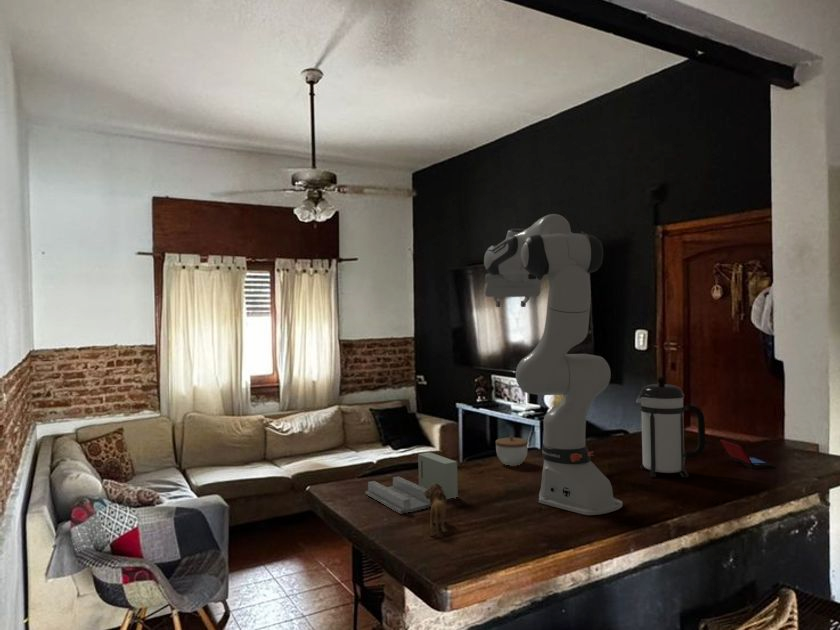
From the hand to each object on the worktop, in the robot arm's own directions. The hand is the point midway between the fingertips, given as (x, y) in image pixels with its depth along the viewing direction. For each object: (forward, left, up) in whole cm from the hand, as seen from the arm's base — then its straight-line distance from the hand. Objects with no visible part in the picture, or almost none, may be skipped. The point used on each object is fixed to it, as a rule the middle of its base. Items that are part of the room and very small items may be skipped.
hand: (510, 306), depth 214 cm
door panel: (-26, +51, -53) cm, 78 cm away
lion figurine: (-48, +66, -54) cm, 97 cm away
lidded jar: (-14, +13, -54) cm, 57 cm away
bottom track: (-26, +63, -53) cm, 86 cm away
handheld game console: (-59, -48, -54) cm, 93 cm away
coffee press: (-51, -18, -54) cm, 76 cm away
